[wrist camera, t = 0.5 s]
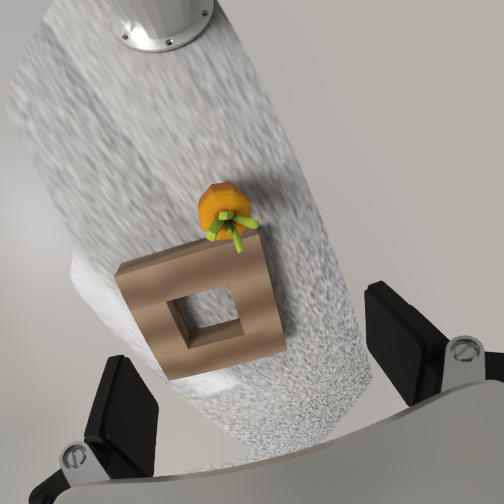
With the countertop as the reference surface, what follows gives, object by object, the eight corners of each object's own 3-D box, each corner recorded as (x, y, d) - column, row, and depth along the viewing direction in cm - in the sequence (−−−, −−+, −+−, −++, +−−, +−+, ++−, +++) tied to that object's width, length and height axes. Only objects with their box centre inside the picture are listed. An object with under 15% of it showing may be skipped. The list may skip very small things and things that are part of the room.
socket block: (121, 263, 37) (113, 277, 34) (253, 224, 38) (258, 234, 35) (170, 362, 45) (169, 380, 41) (281, 333, 45) (287, 350, 42)
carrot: (245, 179, 36) (272, 208, 22) (232, 217, 37) (251, 269, 24) (205, 167, 35) (206, 190, 21) (193, 207, 36) (188, 254, 22)
